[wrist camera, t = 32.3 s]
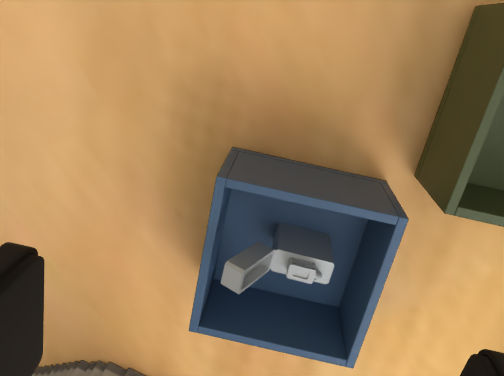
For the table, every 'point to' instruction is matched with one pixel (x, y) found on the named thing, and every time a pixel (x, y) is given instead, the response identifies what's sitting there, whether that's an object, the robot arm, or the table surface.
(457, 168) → the bin
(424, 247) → the table surface
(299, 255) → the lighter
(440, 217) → the table surface
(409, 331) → the table surface
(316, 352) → the bin
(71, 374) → the wastebasket
